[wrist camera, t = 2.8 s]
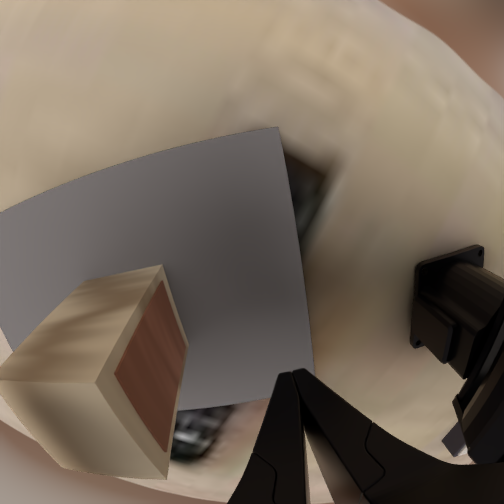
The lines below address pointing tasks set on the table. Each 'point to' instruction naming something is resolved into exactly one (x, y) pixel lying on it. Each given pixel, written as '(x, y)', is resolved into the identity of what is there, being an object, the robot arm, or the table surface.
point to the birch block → (103, 376)
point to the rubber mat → (177, 257)
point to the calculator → (455, 441)
